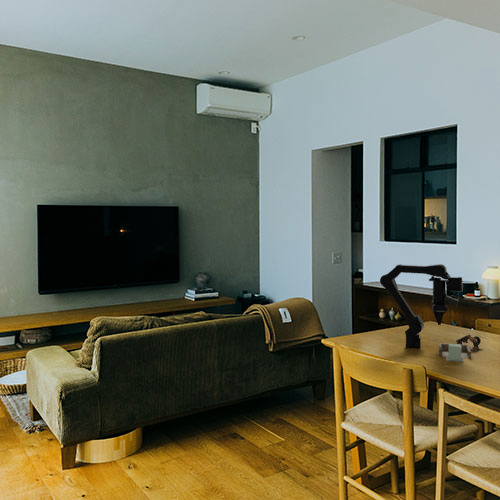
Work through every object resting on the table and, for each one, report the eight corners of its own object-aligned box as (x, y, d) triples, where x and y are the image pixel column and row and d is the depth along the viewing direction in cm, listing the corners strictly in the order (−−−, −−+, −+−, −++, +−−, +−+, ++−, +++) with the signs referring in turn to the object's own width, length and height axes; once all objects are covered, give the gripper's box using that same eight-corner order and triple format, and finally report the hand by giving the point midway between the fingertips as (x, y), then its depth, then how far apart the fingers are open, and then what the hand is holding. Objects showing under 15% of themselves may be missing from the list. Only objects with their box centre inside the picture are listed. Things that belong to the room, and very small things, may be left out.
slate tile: (446, 361, 226) (446, 360, 226) (445, 357, 232) (445, 356, 232) (463, 362, 223) (463, 361, 223) (462, 358, 230) (462, 357, 230)
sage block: (448, 359, 226) (449, 346, 226) (448, 357, 231) (448, 343, 231) (461, 360, 225) (461, 347, 224) (460, 357, 229) (460, 344, 229)
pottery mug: (471, 354, 240) (462, 338, 242) (459, 358, 248) (450, 343, 250) (489, 345, 245) (480, 329, 247) (476, 349, 253) (467, 334, 255)
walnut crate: (439, 357, 233) (439, 349, 233) (438, 350, 246) (438, 343, 246) (470, 359, 229) (470, 351, 229) (468, 352, 242) (468, 345, 242)
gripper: (459, 293, 233) (458, 327, 234) (456, 288, 251) (455, 320, 252) (433, 293, 237) (432, 326, 238) (431, 288, 255) (431, 319, 255)
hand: (439, 323), depth 246 cm, fingers open, 9 cm apart
